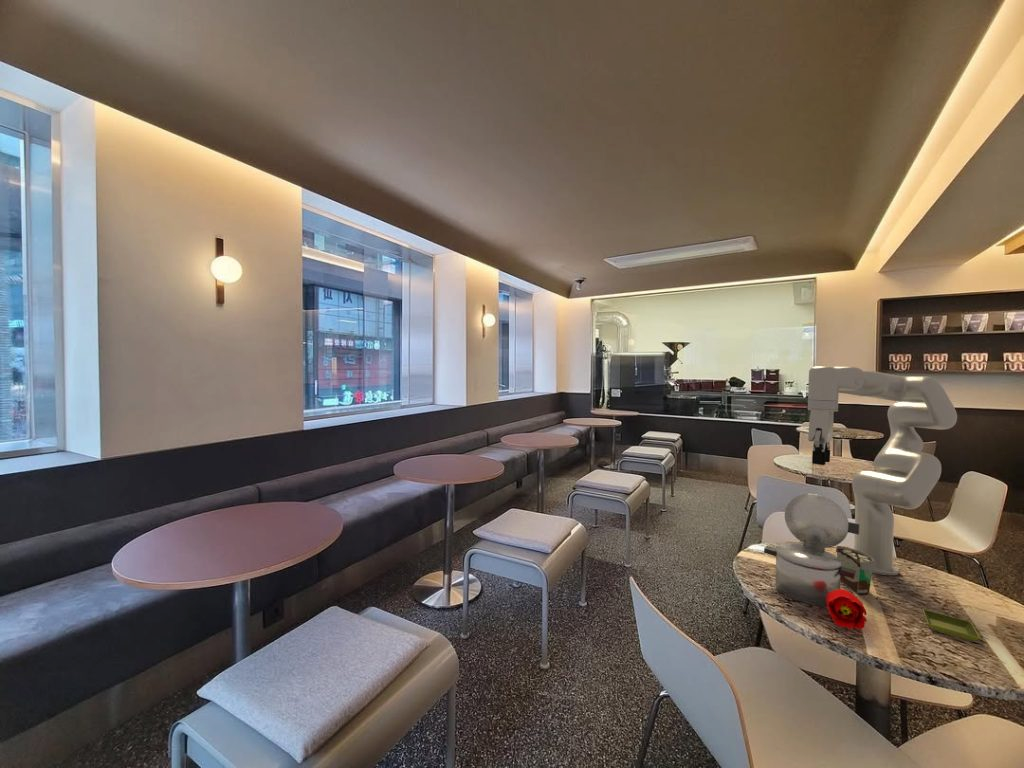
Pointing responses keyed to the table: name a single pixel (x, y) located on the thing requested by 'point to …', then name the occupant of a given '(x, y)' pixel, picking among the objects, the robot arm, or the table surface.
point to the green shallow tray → (951, 625)
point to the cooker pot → (807, 572)
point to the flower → (846, 609)
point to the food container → (860, 564)
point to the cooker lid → (818, 521)
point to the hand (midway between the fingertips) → (821, 462)
